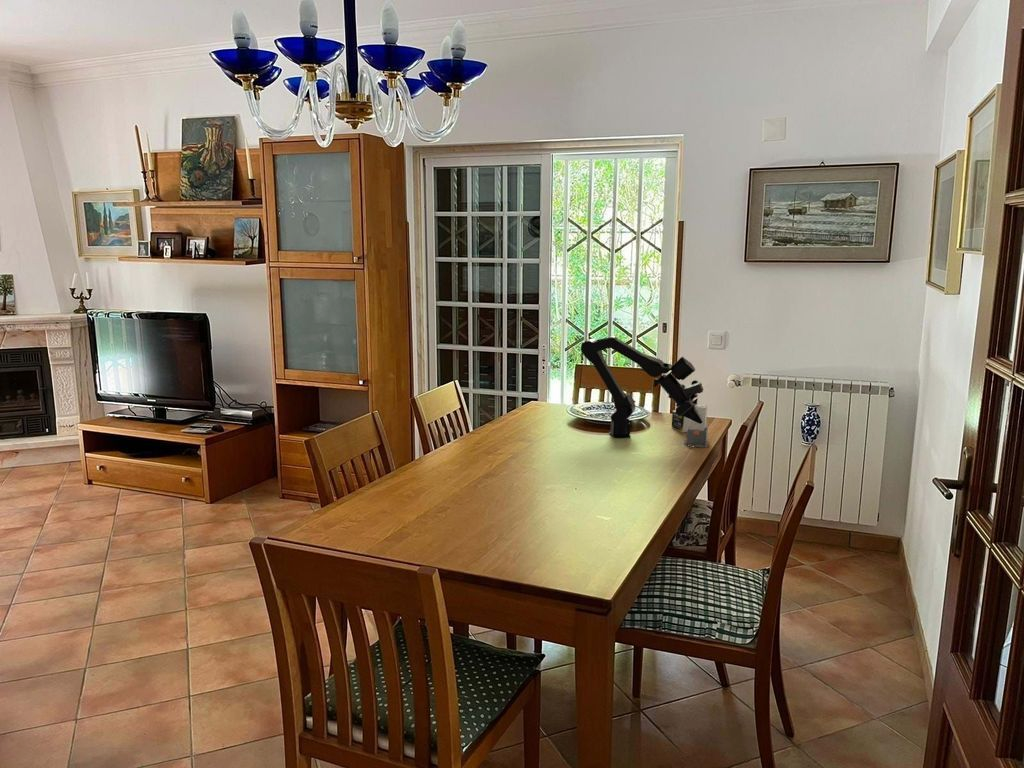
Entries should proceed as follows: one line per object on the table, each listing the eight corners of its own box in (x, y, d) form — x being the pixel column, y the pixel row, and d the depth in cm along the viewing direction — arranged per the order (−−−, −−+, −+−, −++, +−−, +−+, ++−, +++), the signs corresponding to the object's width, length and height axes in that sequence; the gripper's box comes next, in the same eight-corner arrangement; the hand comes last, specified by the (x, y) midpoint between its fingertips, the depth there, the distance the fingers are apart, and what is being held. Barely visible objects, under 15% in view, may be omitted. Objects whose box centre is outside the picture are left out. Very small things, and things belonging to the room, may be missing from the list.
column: (689, 438, 266) (691, 406, 264) (690, 435, 271) (693, 403, 268) (703, 440, 265) (706, 407, 262) (705, 436, 269) (707, 404, 267)
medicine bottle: (671, 428, 289) (673, 398, 286) (685, 426, 292) (687, 396, 289) (682, 432, 283) (684, 402, 280) (697, 431, 286) (699, 400, 283)
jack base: (682, 446, 266) (683, 430, 264) (685, 439, 274) (686, 424, 273) (708, 449, 263) (709, 433, 261) (710, 442, 271) (711, 427, 270)
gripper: (687, 379, 255) (717, 413, 254) (693, 369, 273) (722, 401, 271) (663, 399, 260) (692, 433, 258) (670, 388, 277) (698, 420, 276)
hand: (702, 421), depth 266 cm, fingers closed on column, 5 cm apart
